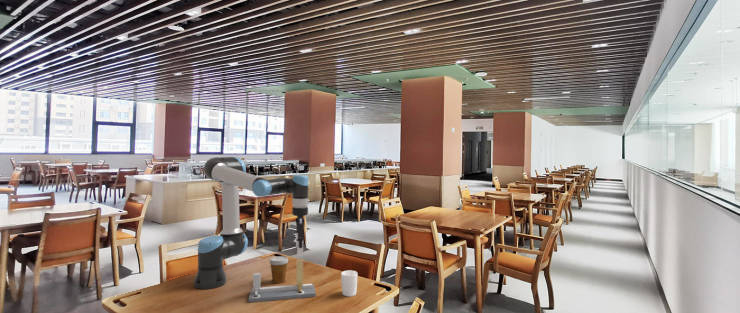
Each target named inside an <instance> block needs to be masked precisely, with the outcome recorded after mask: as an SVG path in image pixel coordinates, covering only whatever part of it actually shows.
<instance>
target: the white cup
mask: <svg viewBox="0 0 740 313" xmlns="http://www.w3.org/2000/svg"><path fill="white" fill-rule="evenodd" d="M340 274H341V276H340V277H341V292H342V293H341V294H342V296H345V297H353V296H355V295H356V294H357V287H358V275H359V274H358V272H357V271H356V270H351V269H350V270H349V269H348V270H344V271H342V272H341V273H340Z"/></svg>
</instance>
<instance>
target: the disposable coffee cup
mask: <svg viewBox="0 0 740 313" xmlns="http://www.w3.org/2000/svg"><path fill="white" fill-rule="evenodd" d="M288 262H289V259H288V257H287V256H283V255H281V256H280V255H279V256H273V257H270V260H269V264H270V270H271V278H272V280H271V281H272V283H273V284H283V283H285V282H286V275H287V268H288Z"/></svg>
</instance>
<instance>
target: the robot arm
mask: <svg viewBox="0 0 740 313" xmlns="http://www.w3.org/2000/svg"><path fill="white" fill-rule="evenodd" d="M203 173H204V175H205V177H207V178H208V179H210V180H212V181H215V182H218V183H219V184H220V185H221V201H222V202H221V204H222V230H221V231H220V232H219V235H212V236H207V237H204V238H201V240H199V242H198V244H197V272H196V275H195V278H194V280H193V287H194V288H196V289H199V290H210V289H215V288H219V287H220V288H221V287H222V286H223V285H225V284H227V276H226V272H225V270H224V267H223V266H224V260H227V259H230V258H233V257H237V256H240V255H242V254H244V252H246V250H247V248H248V245H249V240H248V237H247V235H246V234H245V233H244V230H243V228H241V227H240V226H241V222H240V219H241V217H240V193H239V192H240V189H239V188H242V189H244V190H247V191H251V192H252V193H253V194H254V195H255V196H256V197H261V198H262V197H269V196H274V195H281V194H290V195H292V197H291V198H292V199H291V200H292V202H291V203H292V204H291V205H292V208H291V210H292V212H291V213H292V215H293V216H295V217H296V218H295V225H296V229H295V230H296V232H295V233H296V236H295V248H296V249H297V250H296V255H304V228H305V218H304V216H307V215H308V214H309V207H308V206H309V202H310V199H309V187H310V186H309V185H310V183H309V175H307V174H294V175H293V176H292V178H290V177H275V178H269V179H267V178H264V177H261V176H257V175H255V174H251V173H248V172H247V169H246V164H245V163H244V161H243V159H241V158H240V157H235V156H226V157H224V156H223V157H221V156H220V157H218V156H216V157H211V158H209V159H208V160H206V161H205V163H204V165H203Z"/></svg>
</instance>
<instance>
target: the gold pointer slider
mask: <svg viewBox="0 0 740 313" xmlns="http://www.w3.org/2000/svg"><path fill="white" fill-rule="evenodd" d="M303 284H304V259H303V258H299V259H296V283H295V285H297V286H299V292H301V286H303Z"/></svg>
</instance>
